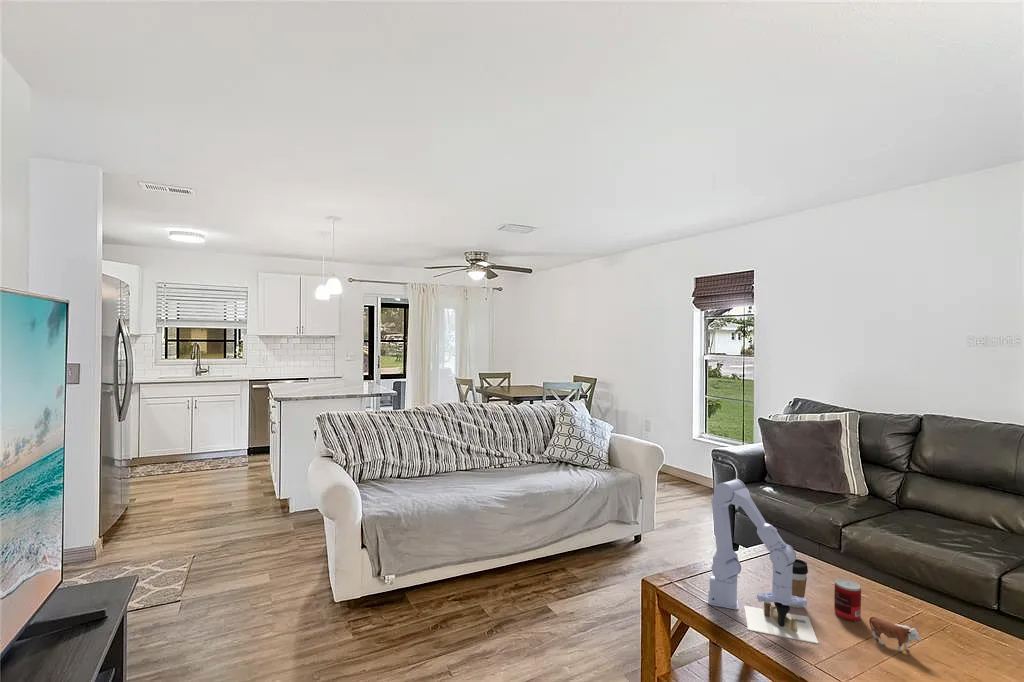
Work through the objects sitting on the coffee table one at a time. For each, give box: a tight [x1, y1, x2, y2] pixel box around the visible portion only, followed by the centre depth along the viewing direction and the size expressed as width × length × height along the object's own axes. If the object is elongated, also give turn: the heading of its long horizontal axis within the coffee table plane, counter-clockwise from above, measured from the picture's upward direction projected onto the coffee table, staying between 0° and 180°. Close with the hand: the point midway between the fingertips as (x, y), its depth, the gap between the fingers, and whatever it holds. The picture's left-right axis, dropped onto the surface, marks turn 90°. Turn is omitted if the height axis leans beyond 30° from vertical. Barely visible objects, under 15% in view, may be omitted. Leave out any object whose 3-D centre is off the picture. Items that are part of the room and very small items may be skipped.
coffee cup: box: [789, 558, 809, 609], centre depth 184 cm, size 8×8×15 cm
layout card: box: [743, 605, 819, 645], centre depth 170 cm, size 20×16×1 cm
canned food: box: [833, 578, 862, 622], centre depth 176 cm, size 8×8×11 cm
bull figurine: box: [868, 616, 922, 652], centre depth 158 cm, size 4×13×8 cm, turn 36°
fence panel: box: [770, 604, 798, 633], centre depth 169 cm, size 10×1×4 cm, turn 20°
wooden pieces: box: [763, 601, 772, 617], centre depth 177 cm, size 2×6×5 cm, turn 159°
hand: (781, 624), depth 167 cm, fingers closed
